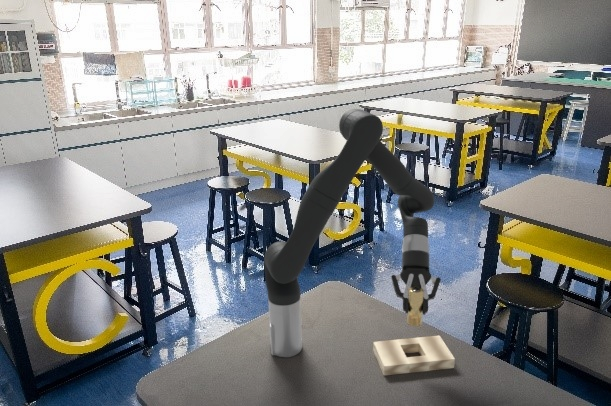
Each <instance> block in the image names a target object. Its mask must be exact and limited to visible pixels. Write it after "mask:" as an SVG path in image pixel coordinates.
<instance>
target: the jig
mask: <svg viewBox="0 0 611 406" xmlns="http://www.w3.org/2000/svg"><path fill="white" fill-rule="evenodd" d="M372 343H373V344H372V345H373V346H372V347H373V348H372V350H373V353H374V356H375V358H376V360H377V363H378V365H379V367H380V371H381V372H382V376H390V375H391V376H392V375H400V374H409V373H419V372H429V371H437V370H448V369H455V363H456V362H455V361H456V358H455V357H454V355H453V354H452V352H451V351H450V349H449V348H448V346H447V345H446V343H445V342H444V340H443V338H442V337H441V335H431V336H430V335H429V336H428V335H427V336H421V337H410V338H400V339H399V338H398V339H390V340H379V341H373V342H372ZM412 353H418V354H419V355H417V356H407V355H406V354H412Z"/></svg>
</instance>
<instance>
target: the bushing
mask: <svg viewBox="0 0 611 406" xmlns="http://www.w3.org/2000/svg"><path fill="white" fill-rule="evenodd" d="M423 296H424V290H423V289H422V288H420V287H410V288H409V292H408V314H406V323H407V324H408V325H410V326H412V327H419V326H422V324H423V323H422V322H423V314H422V310H423Z"/></svg>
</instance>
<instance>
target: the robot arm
mask: <svg viewBox="0 0 611 406" xmlns="http://www.w3.org/2000/svg"><path fill="white" fill-rule="evenodd" d="M338 126H339V127H338V128H339V131H340V134H341V136H342V137H343V138H344V140H345V141H346V142H345V144H344V145H343V147H342V149H341V151H340V152H339V154H338V155H337V156H336V158H335V159H334V160H333V161H332V162H331V163H330V164H328V165H327V166H326V167H324V169H322V170H321V171H320V172H319V173H318V174H316V176H315V177H314V178H313V179H312V181H311V182H310V184H309V186H308V187H307V189H306V191H305V192H304V194H303V196H302V198H301V200H300V203H299V206H298V209H297V214H296V216H295V217H296V218H295V221H294V222H295V223H294V225H293V228H292V231H291V233H290V235H289V236H288V239H287V241H281V240H279V241H276V242H273V243H272V244H270V245H269V247H267V249H266V251H265V253H264V259H263V262H264V263H263V265H264V277H265V287H266V292H267V298H268V299H267V300H268V316H269V317H268V324H269V341H270V343H269V344H270V352H271V353H270V354H271V356H277V357H278V358H279V357H280V358H291V357H295V356H296V355H298V354H300V352H301V351H302V349H303V339H302V336H303V335H302V303H301V287H300V284H299V280H298V277H299V276H300V275H301V273H302V271H303V269H304V267H305V265H306V263H307V260H308V259H309V257H310V254H311V252H312V250H313V247H314V245H315V243H316V242H317V240H318V238H319V237H320V235H321V233H322V232H323V230H324V228H325V226H326V225H327V223H328V222H329V220H330V218H331V216H332V215H333V213H334V212H335V210H336V209H337V207H338V205H339V203H340V202H341V200H342V198H343V196H344V195H345V193H346V191H347V189H348V188H349V186H350V184H351V183H352V182H353V179H354V178H355V177H356V175H357V173H358V171H359V170H360V168H361V167H362V165H363V164H364V163H365V161H366V160H367V161H369V163H370V165H372V167H373V168H375V170H376V172H377V173H378V174H379V176H380V177H381V178H382V180H383V181H384V182H385V183H386V185H387V186H388V187H389V188H390V190H391V192H393V193H394V194H396V195H398V199H397V205H398V206H397V207H398V210H399V214H400V216H401V221H402V227H403V228H402V229H403V235H402V236H403V238H402V239H403V240H402V246H401V247H402V248H401V255H402V256H401V263H402V264H401V272H400V274H397V275H395V274H392V275H391V278H390V281H391V283H392V286H393V289H394V293H395V295H396V298H400V299H402V311H403V312H405V314H406V315H407V314H408V292H409V288H410V287H420V288H422V289H423V290H424V296H423V310H422V316H423V315H424V316H425V315H426V314H427V313H428V311H429V301H431V300H435V297H436V294H437V292H438V290H439V286H440V283H441V278H440V277H436V276H432V273H431V271H430V242H429V223H428V221H427V220H426V219H425V218H423V217H419V216H414V214H418V213H423V212H428V211H431V209H432V208H433V207H434V204H435V197H434V194H433V192H432V191H431V189H430V188H429V187H427V186H426V185H425V184H424V183H422V182H421V181H419V180H418V179H417V178H415V177H414V176H413V175H412V174H411V172H410V171H409V170H408V169H407V167H406V166H405V164H404V163H403V162H402V160H400V159H399V158H398V157H397V156H396V155H395V154H394V153H393V152H391V150H389V148H388V147H386V145H385V144H384V143H383V142H382V141H381V138H382V134H383V132H384V125H383V121H382V120H381V118H380V117H378V115H376V114H373V113H371V112H369V111H366V110H364V109H359V108H352V109H351V108H350V109H348V110H346V111H345V112H344V113H343V114H342V116H341V117H340V119H339V124H338ZM400 281H403V284H404V285H405V288H404V292H402V290H401V288H400V285H399V283H400ZM430 281H431V285H432V286H433V287H432V289H431V292H430V293H429V294H428V290H427V284H428V283H429V282H430Z"/></svg>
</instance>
